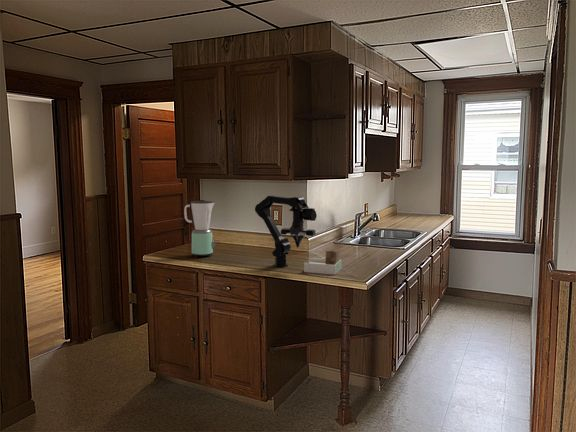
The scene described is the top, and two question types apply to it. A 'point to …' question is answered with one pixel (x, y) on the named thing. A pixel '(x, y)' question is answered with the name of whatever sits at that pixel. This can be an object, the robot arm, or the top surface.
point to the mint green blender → (201, 227)
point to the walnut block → (332, 256)
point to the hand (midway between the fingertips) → (297, 247)
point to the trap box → (322, 266)
